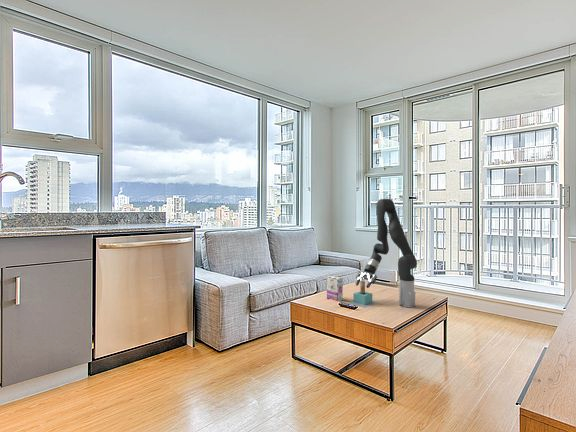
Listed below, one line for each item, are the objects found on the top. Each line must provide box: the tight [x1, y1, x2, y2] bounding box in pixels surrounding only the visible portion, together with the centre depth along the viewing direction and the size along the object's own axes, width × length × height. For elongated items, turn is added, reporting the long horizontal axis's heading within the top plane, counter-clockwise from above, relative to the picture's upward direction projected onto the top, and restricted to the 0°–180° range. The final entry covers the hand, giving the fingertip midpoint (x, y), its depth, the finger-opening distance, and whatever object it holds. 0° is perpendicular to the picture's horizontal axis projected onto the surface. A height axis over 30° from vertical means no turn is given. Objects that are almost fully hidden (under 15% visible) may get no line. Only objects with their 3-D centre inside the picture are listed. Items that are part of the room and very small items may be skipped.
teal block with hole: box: [352, 291, 373, 305], centre depth 227 cm, size 9×9×6 cm
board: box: [348, 300, 379, 308], centre depth 225 cm, size 14×16×1 cm
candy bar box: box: [326, 275, 344, 302], centre depth 234 cm, size 11×5×16 cm, turn 37°
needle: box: [359, 280, 366, 295], centre depth 226 cm, size 3×3×14 cm
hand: (361, 286), depth 225 cm, fingers open, 8 cm apart
